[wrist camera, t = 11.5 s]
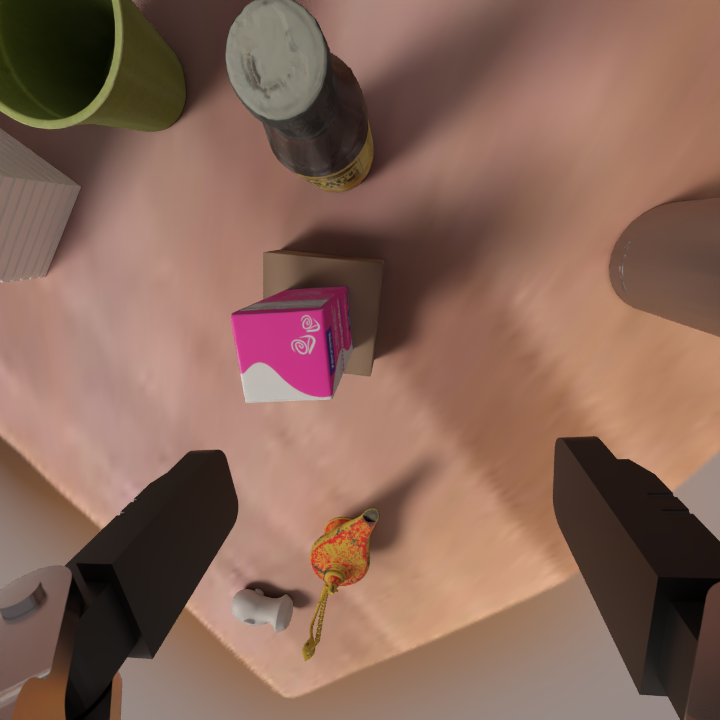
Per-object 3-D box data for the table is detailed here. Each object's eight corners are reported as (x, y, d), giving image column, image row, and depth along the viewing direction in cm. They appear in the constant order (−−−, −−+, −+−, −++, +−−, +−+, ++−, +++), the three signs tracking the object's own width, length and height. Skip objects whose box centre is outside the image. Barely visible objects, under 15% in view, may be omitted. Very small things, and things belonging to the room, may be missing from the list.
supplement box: (356, 350, 34) (333, 404, 23) (291, 352, 34) (239, 406, 24) (351, 284, 32) (323, 308, 21) (283, 288, 33) (222, 314, 22)
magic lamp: (407, 479, 43) (408, 558, 33) (347, 584, 49) (333, 678, 39) (351, 456, 43) (335, 528, 32) (298, 563, 49) (271, 653, 38)
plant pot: (227, 29, 31) (135, -76, 20) (198, 179, 35) (109, 157, 24) (90, -26, 31) (-74, -161, 20) (77, 131, 35) (-67, 88, 24)
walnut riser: (384, 259, 36) (381, 263, 31) (374, 358, 39) (370, 376, 34) (281, 249, 36) (263, 252, 32) (279, 348, 40) (263, 363, 35)
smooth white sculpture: (241, 593, 53) (238, 577, 50) (295, 607, 53) (296, 592, 50) (227, 627, 50) (223, 613, 47) (285, 643, 50) (285, 629, 46)
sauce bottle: (300, 187, 34) (177, 136, 16) (309, 108, 32) (179, -62, 13) (371, 201, 34) (333, 165, 15) (385, 121, 32) (360, -33, 13)
